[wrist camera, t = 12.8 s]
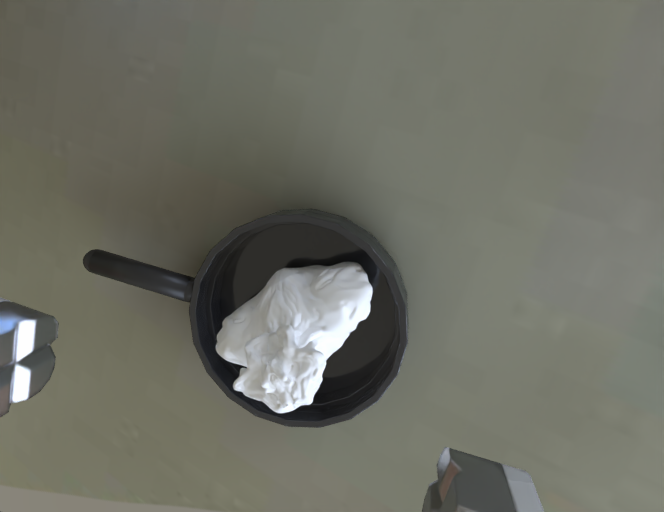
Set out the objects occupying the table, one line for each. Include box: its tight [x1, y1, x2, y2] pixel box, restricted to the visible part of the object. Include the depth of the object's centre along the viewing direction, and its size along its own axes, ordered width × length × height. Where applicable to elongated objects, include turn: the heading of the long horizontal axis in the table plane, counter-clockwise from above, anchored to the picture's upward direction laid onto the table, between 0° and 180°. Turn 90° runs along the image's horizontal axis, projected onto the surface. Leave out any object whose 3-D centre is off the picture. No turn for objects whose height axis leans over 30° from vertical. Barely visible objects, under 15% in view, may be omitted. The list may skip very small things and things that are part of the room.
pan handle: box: [83, 249, 195, 302], centre depth 33 cm, size 9×2×2 cm, turn 76°
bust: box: [216, 262, 373, 413], centre depth 30 cm, size 12×8×11 cm
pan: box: [189, 209, 408, 428], centre depth 33 cm, size 15×15×4 cm
